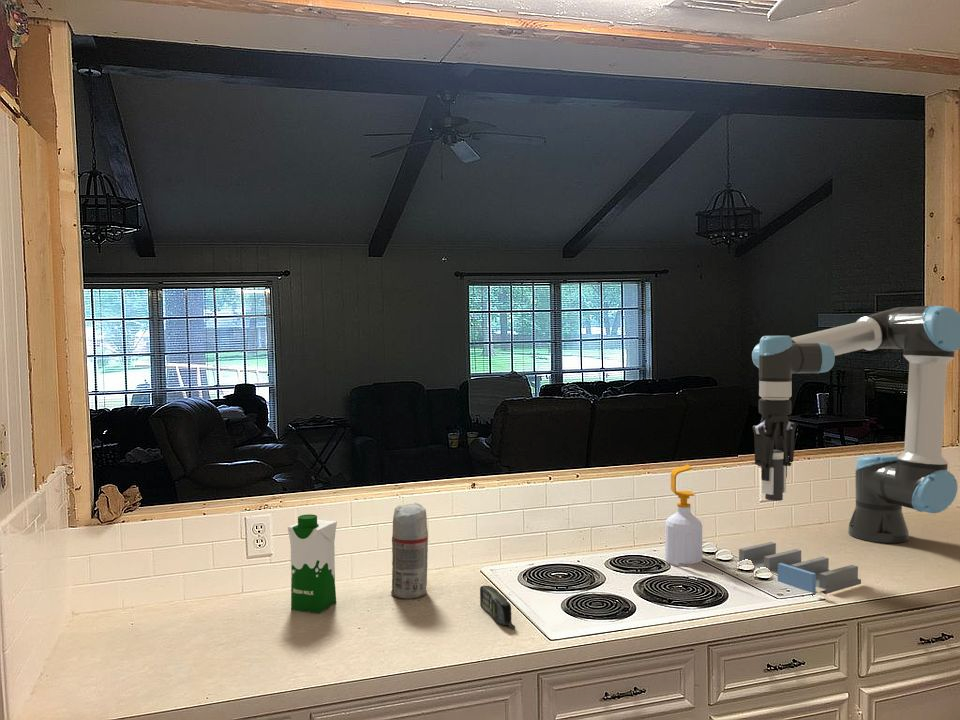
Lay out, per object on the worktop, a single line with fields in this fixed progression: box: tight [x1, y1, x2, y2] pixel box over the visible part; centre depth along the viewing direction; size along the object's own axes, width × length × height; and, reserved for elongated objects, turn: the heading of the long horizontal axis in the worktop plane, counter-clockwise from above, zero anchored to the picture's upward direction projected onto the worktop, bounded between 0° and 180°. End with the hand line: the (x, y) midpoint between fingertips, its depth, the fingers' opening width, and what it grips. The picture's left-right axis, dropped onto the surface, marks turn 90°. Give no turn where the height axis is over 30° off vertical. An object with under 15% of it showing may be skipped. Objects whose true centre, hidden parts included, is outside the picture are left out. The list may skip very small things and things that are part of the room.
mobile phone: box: [479, 585, 516, 630], centre depth 158 cm, size 5×3×15 cm
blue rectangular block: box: [777, 563, 817, 597], centre depth 172 cm, size 1×9×5 cm, turn 31°
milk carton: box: [287, 513, 338, 614], centre depth 164 cm, size 9×9×20 cm
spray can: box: [390, 502, 429, 600], centre depth 172 cm, size 8×8×20 cm
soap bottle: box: [664, 464, 703, 568], centre depth 193 cm, size 9×9×25 cm
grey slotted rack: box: [736, 541, 862, 595], centre depth 184 cm, size 13×25×4 cm, turn 31°
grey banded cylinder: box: [764, 449, 784, 502], centre depth 188 cm, size 4×4×12 cm
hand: (774, 492), depth 189 cm, fingers closed on grey banded cylinder, 4 cm apart
